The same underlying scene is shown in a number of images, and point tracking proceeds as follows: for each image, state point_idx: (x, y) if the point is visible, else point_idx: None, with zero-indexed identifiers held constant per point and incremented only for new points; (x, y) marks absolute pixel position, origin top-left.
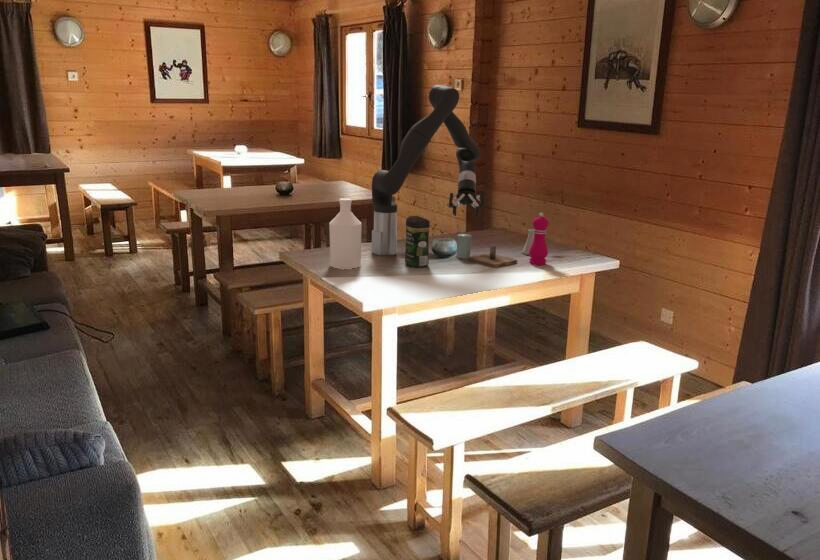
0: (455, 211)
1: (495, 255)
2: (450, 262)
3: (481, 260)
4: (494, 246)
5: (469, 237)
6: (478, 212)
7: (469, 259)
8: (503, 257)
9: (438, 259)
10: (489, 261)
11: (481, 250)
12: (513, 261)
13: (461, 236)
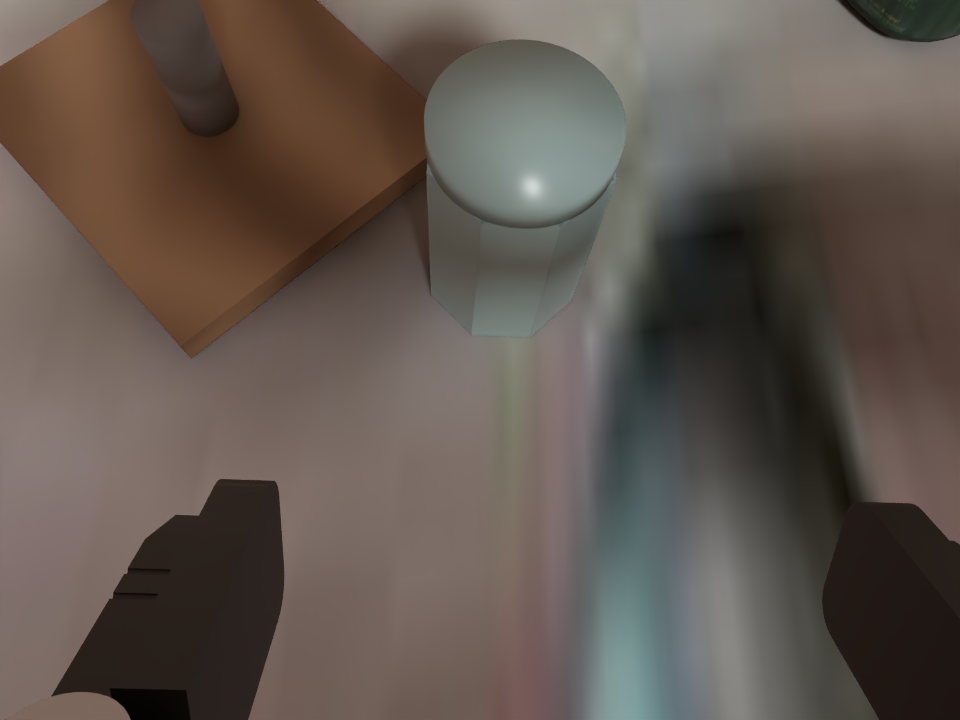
0: (911, 528)
1: (145, 251)
2: (621, 67)
3: (332, 38)
4: (151, 4)
5: (452, 73)
6: (147, 541)
7: None
8: (75, 175)
9: (744, 155)
10: (259, 14)
11: None
12: (9, 67)
13: (567, 52)
